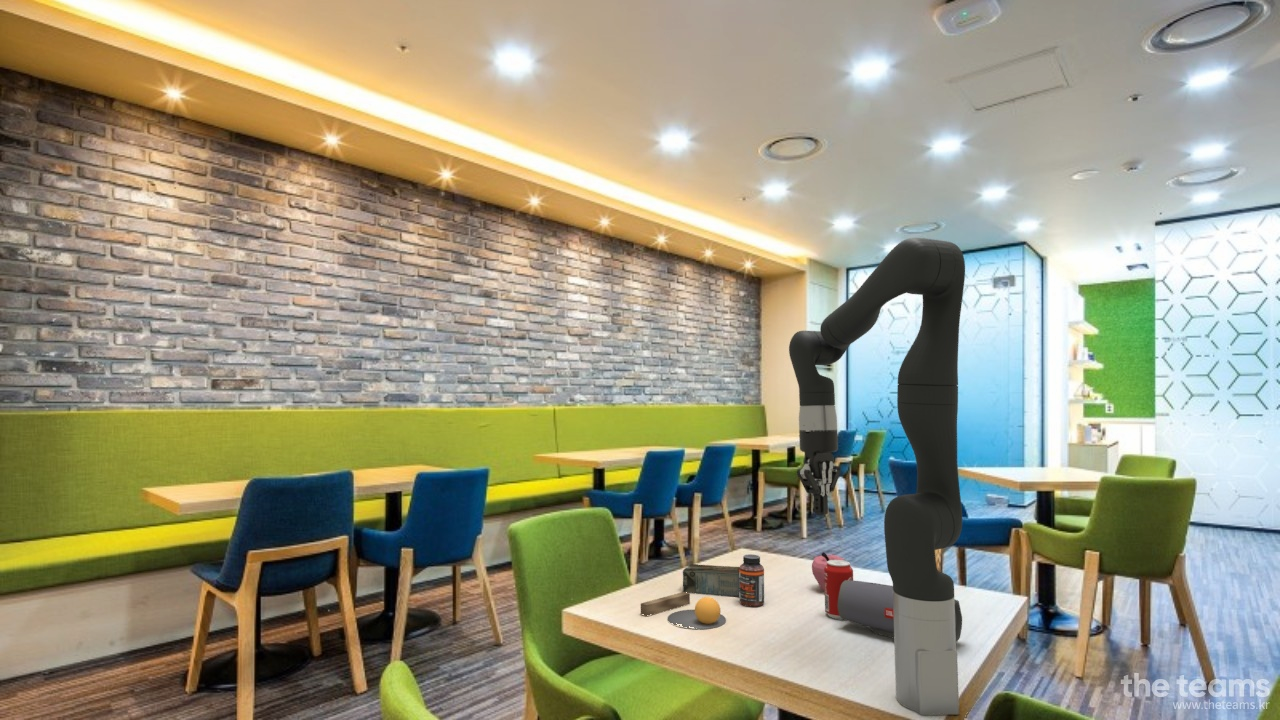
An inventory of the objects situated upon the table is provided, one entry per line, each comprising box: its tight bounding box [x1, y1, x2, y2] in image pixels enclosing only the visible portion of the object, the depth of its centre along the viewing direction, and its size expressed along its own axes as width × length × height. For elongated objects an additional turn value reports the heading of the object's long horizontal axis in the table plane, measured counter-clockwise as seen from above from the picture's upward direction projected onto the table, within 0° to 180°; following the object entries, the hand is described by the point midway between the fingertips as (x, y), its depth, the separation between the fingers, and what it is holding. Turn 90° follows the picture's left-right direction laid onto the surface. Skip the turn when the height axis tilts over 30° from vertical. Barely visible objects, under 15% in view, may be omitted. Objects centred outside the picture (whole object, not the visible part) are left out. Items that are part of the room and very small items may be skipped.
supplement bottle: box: [738, 554, 765, 608], centre depth 159 cm, size 6×6×11 cm
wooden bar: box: [640, 591, 691, 617], centre depth 155 cm, size 14×2×2 cm, turn 131°
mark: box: [667, 609, 727, 630], centre depth 147 cm, size 13×13×1 cm
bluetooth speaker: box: [837, 580, 963, 643], centre depth 137 cm, size 23×9×10 cm, turn 49°
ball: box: [694, 596, 721, 624], centre depth 145 cm, size 6×6×6 cm
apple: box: [811, 551, 845, 592], centre depth 169 cm, size 10×9×10 cm
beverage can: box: [824, 560, 854, 621], centre depth 149 cm, size 6×6×12 cm
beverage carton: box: [682, 563, 740, 598], centre depth 169 cm, size 8×19×7 cm, turn 72°
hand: (821, 514), depth 133 cm, fingers closed
